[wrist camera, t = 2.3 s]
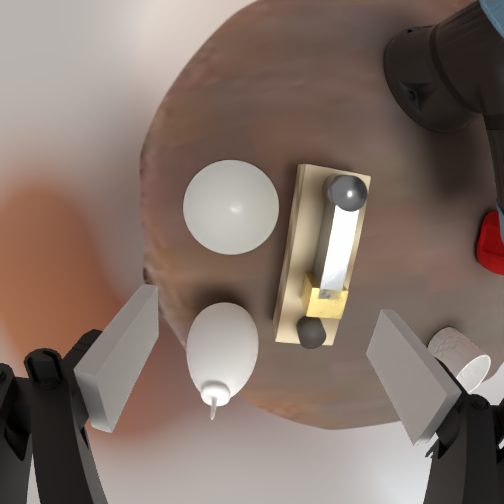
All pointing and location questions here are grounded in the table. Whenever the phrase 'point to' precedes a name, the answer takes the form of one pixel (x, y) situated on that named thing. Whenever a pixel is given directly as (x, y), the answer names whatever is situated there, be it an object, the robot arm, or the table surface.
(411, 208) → the table surface
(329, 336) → the beige long block
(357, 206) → the lever
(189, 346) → the sauce bottle
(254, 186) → the white round disc
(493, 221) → the red lumpy piece
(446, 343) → the white cup
